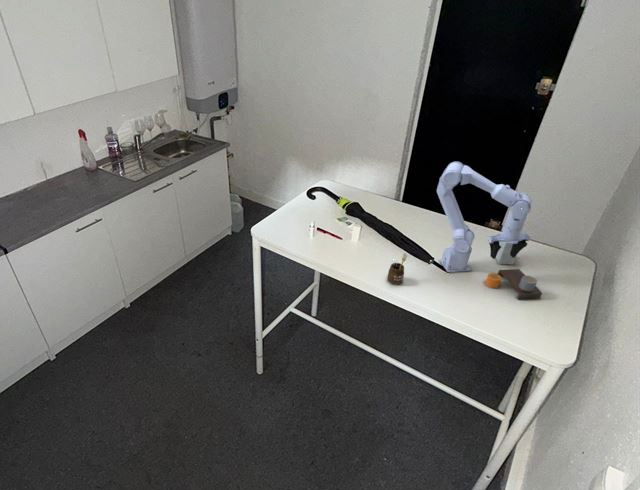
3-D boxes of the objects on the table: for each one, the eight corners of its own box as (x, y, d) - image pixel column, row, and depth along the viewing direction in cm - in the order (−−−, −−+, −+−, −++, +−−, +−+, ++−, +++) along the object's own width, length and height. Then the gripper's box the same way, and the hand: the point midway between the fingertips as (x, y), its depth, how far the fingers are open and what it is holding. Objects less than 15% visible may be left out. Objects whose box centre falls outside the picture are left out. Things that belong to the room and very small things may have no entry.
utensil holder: (384, 278, 163) (388, 254, 156) (396, 274, 165) (401, 249, 158) (393, 286, 159) (398, 261, 152) (406, 282, 161) (411, 257, 154)
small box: (513, 265, 167) (521, 243, 161) (498, 263, 168) (506, 242, 162) (507, 254, 173) (515, 233, 167) (493, 253, 174) (500, 232, 168)
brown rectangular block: (518, 299, 149) (520, 294, 148) (497, 275, 162) (499, 269, 160) (539, 298, 149) (542, 292, 148) (516, 273, 162) (519, 268, 160)
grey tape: (523, 292, 149) (526, 283, 147) (516, 283, 153) (519, 275, 150) (536, 291, 149) (539, 283, 147) (528, 283, 153) (532, 275, 150)
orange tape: (489, 288, 155) (491, 280, 153) (482, 281, 159) (485, 273, 157) (501, 288, 155) (504, 280, 153) (494, 280, 159) (497, 272, 157)
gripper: (499, 233, 145) (489, 263, 153) (539, 230, 145) (527, 261, 153) (489, 223, 151) (479, 253, 158) (528, 221, 151) (516, 251, 158)
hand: (502, 256), depth 156 cm, fingers open, 7 cm apart
